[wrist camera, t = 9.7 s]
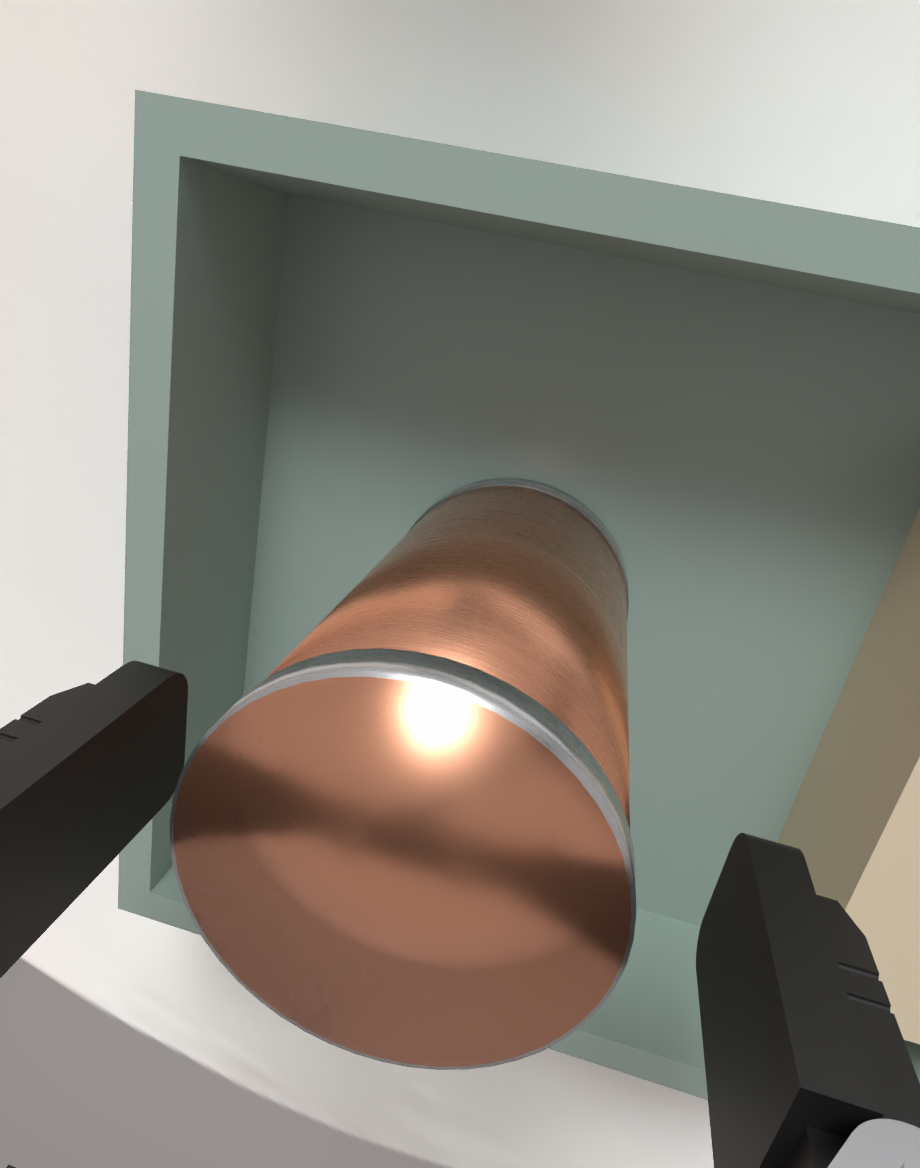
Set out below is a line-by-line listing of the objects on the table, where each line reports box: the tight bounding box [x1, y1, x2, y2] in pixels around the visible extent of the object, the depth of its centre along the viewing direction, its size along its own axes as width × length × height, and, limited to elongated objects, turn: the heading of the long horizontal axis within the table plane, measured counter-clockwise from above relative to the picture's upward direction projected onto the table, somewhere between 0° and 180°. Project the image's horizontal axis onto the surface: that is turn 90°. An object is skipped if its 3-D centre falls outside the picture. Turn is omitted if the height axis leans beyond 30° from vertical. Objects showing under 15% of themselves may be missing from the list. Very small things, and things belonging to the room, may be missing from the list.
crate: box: [118, 90, 920, 1100], centre depth 16 cm, size 24×17×5 cm
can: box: [170, 478, 636, 1070], centre depth 13 cm, size 6×6×10 cm
